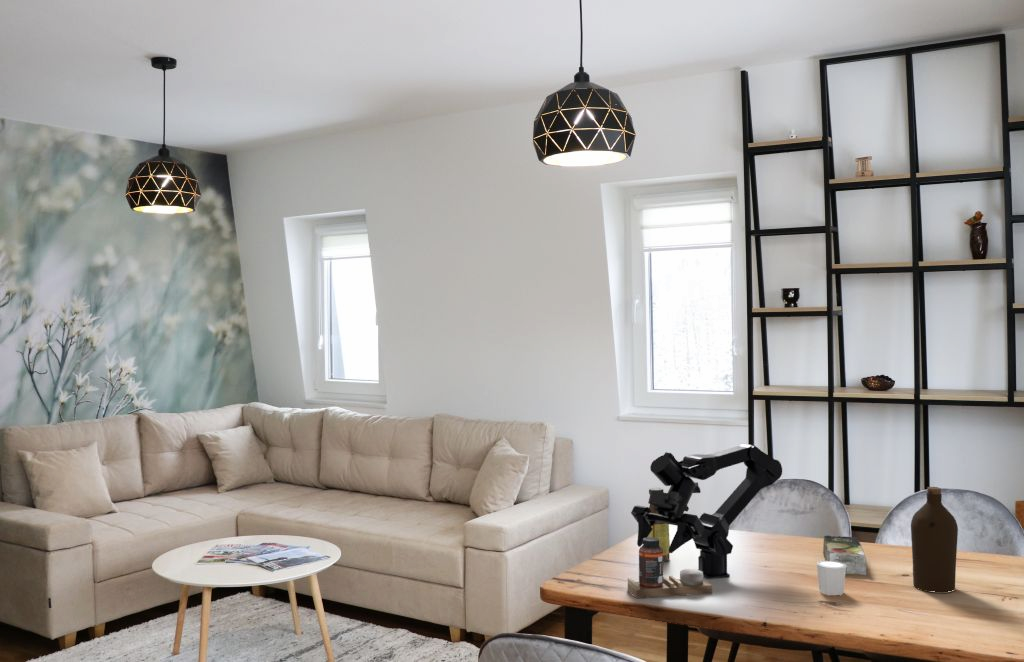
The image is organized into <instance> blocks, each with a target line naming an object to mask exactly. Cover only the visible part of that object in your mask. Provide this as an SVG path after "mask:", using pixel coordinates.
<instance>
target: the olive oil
mask: <svg viewBox="0 0 1024 662" xmlns="http://www.w3.org/2000/svg"><path fill="white" fill-rule="evenodd" d="M926 491H927V492H926V503H924V504H923V506H921V507H920V508H919V509H918V510H917V511H916V512H915V513H914V514H913V515H912V518H911V521H910V535H911V538H910V539H911V553H912V554H911V555H912V556H911V557H912V581H913V587H915V588H916V589H917V588H919V589H918V590H920V589H922V590H921V591H923V590H927V591H935V592H948V591H952V590H954V589H955V590H956V575H957V574H956V573H957V572H956V571H957V570H956V569H957V550H958V537H959V536H958V535H959V527H958V523H957V520H956V518H955V517H954V516H953V514H952V513H951V512H950V511H949V510H948V509H947V508H946V507H945V505H944V504H943V503H942V496H943V495H942V488H941V487H937V486H927V488H926ZM955 590H954V591H955ZM927 591H926V592H927Z"/></svg>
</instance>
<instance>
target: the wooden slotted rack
mask: <svg viewBox="0 0 1024 662" xmlns="http://www.w3.org/2000/svg"><path fill="white" fill-rule="evenodd" d="M627 591H628V592H629V593H630V592H631V593H632V594H633V595H634V596H635V597H636V598H637V599H645V598H644V597H651V598H662V597H663V596H666V597H676V596H675V595H680V596H688V595H687V594H695V595H704V594H707V595H708V594H713V584H711V583H710V582H708V581H707V580H706V579H705V578H704V576H703V572H702V571H700V570H698V569H694V568H688V569H687V568H684V569H681V570H680V572H679V578H676V577H674V576H673V575H669V576H668V577H666V576H665V575H663V585H662V586H660V587H645V586H642V585H640V583H639V581H635V580H634V579H633V578H631V577H630V578H628V577H627ZM631 593H630V594H631ZM632 594H631V595H632ZM633 595H632V596H633ZM634 596H633V597H634ZM635 597H634V598H635Z"/></svg>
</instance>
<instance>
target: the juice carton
mask: <svg viewBox="0 0 1024 662" xmlns="http://www.w3.org/2000/svg"><path fill="white" fill-rule="evenodd" d="M822 546H823V547H822V548H823V550H822V554H823V557H824V561H836V562H841V563H843V564H845V565H846V574H845V575H857V574H860V575H859V576H867V556H866V554H865V552H864V548H863V547H862V544H861V543H860V541H859V539H858V538H857V537H856V536H841V535H840V536H839V535H838V536H836V535H834V536H831V535H824V536H823V545H822Z"/></svg>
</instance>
